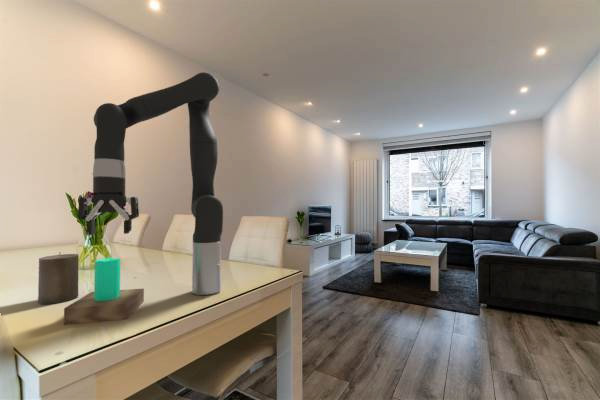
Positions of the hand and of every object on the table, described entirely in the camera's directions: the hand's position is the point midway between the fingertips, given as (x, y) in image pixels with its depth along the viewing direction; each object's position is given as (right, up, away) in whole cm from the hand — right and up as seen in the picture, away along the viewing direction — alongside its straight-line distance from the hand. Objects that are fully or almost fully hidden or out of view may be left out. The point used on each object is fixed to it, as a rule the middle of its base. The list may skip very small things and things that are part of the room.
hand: (109, 234), depth 78 cm
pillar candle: (-23, -22, +10) cm, 34 cm away
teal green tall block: (0, -18, -1) cm, 18 cm away
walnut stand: (0, -22, -1) cm, 22 cm away
